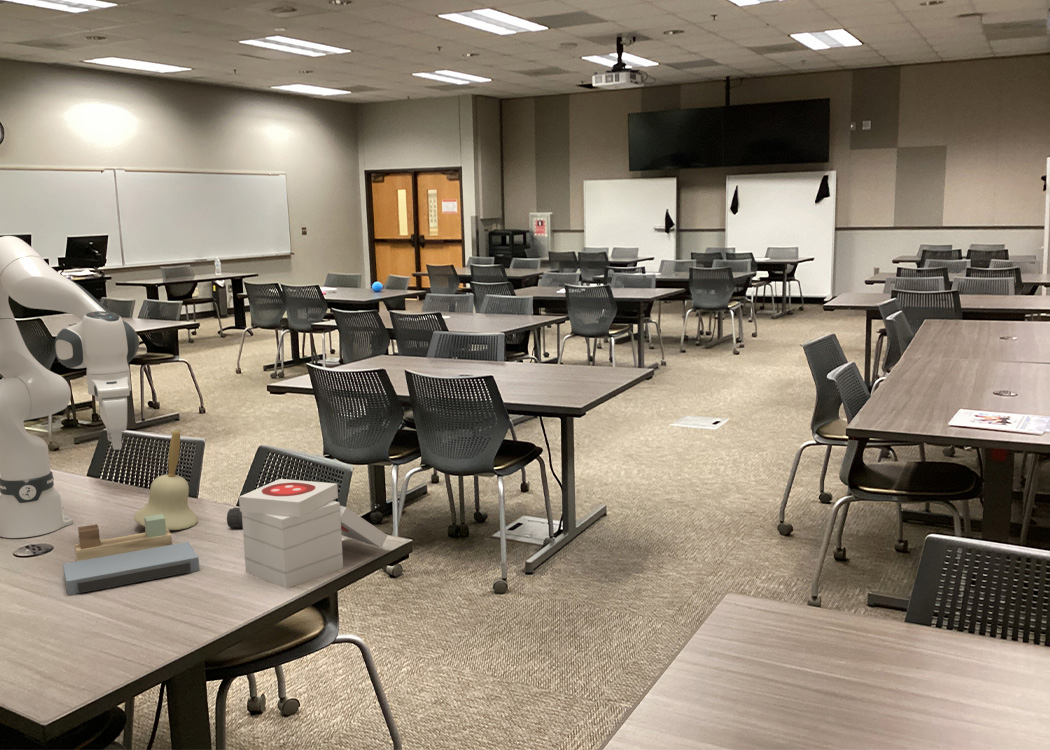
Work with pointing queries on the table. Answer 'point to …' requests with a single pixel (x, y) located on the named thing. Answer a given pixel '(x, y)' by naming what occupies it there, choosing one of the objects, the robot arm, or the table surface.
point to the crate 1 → (89, 536)
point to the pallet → (122, 545)
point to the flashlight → (234, 518)
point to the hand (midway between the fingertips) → (114, 444)
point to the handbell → (169, 495)
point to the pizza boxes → (298, 531)
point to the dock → (129, 567)
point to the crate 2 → (155, 525)
